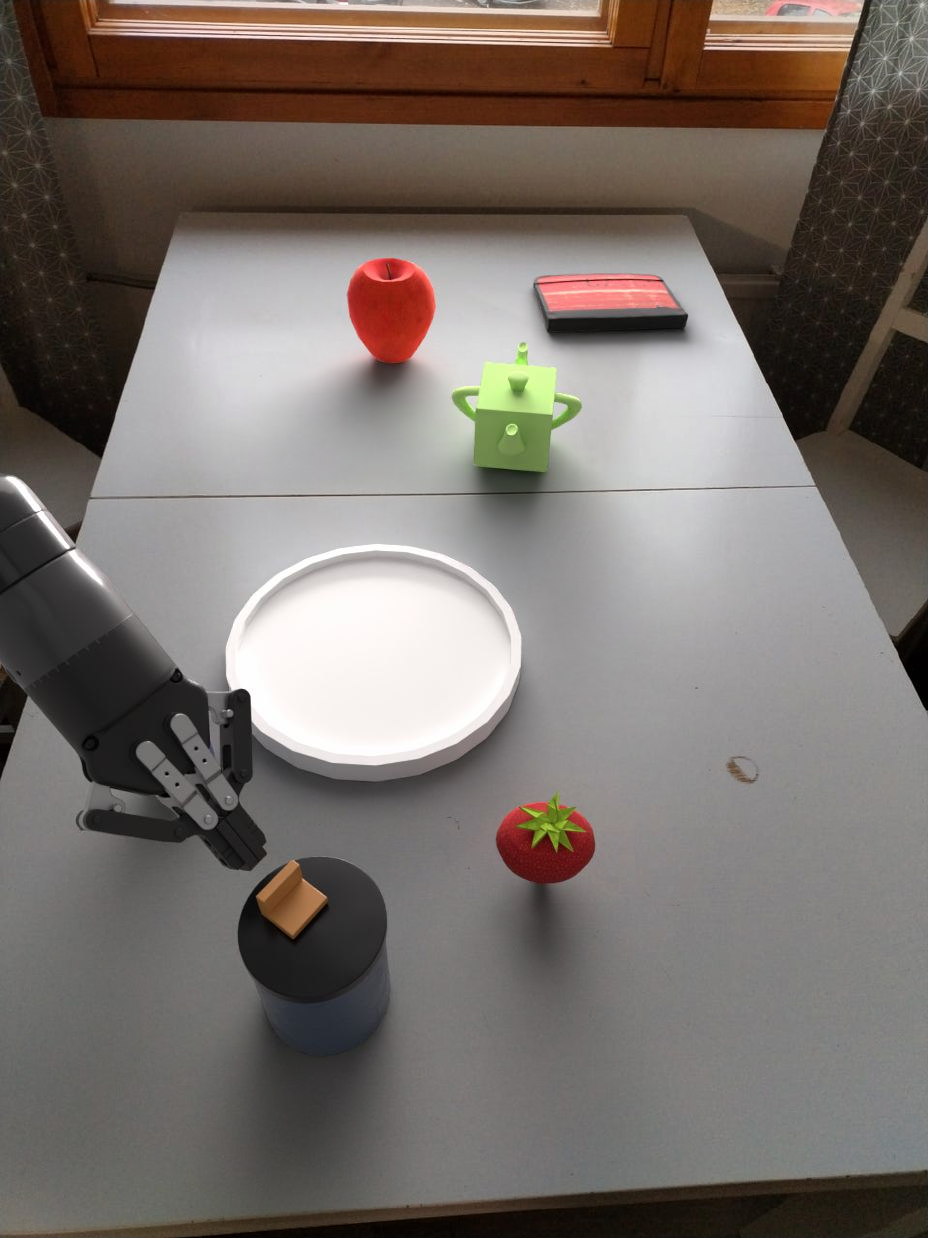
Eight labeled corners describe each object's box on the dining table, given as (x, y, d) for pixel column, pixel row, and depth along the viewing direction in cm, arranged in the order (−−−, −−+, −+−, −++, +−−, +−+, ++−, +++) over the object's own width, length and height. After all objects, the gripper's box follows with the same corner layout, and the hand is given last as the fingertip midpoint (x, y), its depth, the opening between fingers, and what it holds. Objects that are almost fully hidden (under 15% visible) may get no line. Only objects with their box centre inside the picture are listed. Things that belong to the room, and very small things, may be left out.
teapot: (518, 406, 117) (524, 331, 110) (593, 452, 111) (606, 376, 103) (430, 450, 110) (430, 374, 102) (506, 503, 103) (512, 425, 96)
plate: (168, 667, 85) (162, 650, 83) (375, 526, 100) (374, 509, 98) (377, 842, 73) (375, 826, 71) (578, 651, 88) (581, 634, 86)
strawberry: (492, 840, 73) (499, 771, 66) (584, 844, 73) (601, 775, 66) (491, 908, 69) (498, 842, 62) (589, 912, 69) (606, 847, 62)
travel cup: (234, 1002, 64) (205, 936, 56) (324, 904, 69) (309, 830, 61) (331, 1089, 60) (315, 1030, 52) (419, 977, 65) (416, 909, 57)
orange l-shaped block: (261, 914, 57) (255, 896, 55) (296, 877, 58) (292, 859, 57) (293, 940, 56) (288, 923, 54) (328, 901, 57) (325, 884, 56)
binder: (689, 313, 131) (548, 318, 129) (686, 328, 132) (546, 333, 131) (660, 269, 142) (530, 272, 140) (658, 283, 144) (529, 287, 142)
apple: (431, 332, 130) (430, 241, 120) (440, 375, 122) (440, 281, 112) (349, 336, 129) (342, 244, 119) (353, 380, 121) (346, 285, 111)
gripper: (-15, 710, 46) (195, 951, 50) (184, 570, 53) (352, 790, 57) (-36, 722, 52) (153, 937, 56) (146, 595, 59) (301, 792, 63)
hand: (254, 862), depth 56 cm, fingers closed
